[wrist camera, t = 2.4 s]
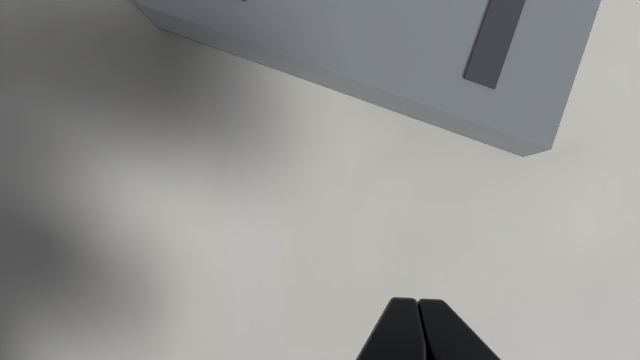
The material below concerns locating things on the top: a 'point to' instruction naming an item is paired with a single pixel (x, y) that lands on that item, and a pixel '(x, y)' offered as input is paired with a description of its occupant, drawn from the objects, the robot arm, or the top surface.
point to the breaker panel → (413, 55)
